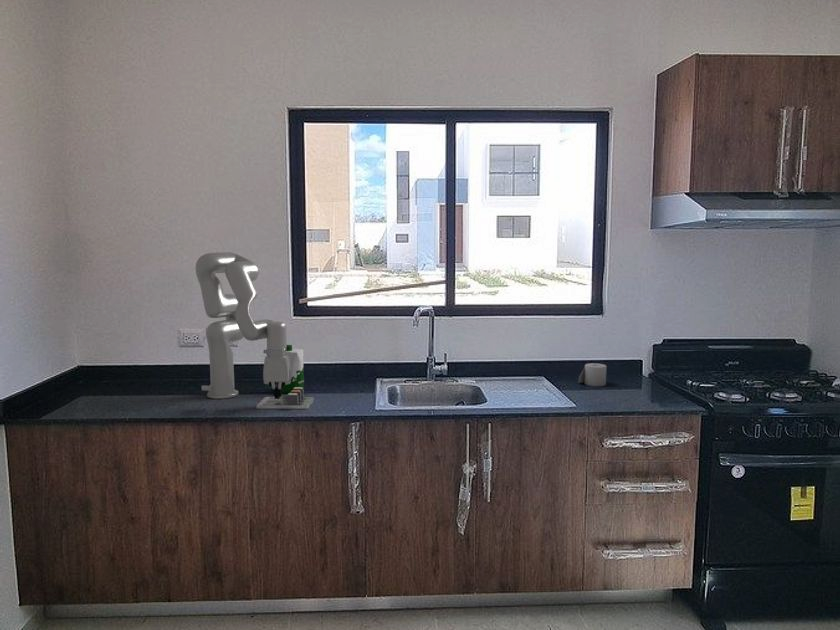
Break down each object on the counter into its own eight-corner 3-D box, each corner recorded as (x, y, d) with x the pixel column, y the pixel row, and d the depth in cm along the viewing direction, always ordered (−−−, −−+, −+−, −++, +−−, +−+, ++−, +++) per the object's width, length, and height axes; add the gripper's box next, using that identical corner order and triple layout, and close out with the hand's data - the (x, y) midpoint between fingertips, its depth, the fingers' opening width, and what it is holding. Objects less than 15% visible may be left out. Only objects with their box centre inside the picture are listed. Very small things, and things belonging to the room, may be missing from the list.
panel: (256, 408, 244) (256, 404, 244) (265, 399, 257) (265, 396, 257) (307, 408, 244) (307, 405, 243) (313, 400, 257) (313, 396, 256)
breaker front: (287, 404, 244) (286, 394, 244) (288, 403, 246) (288, 393, 246) (297, 404, 244) (297, 394, 244) (298, 403, 246) (298, 393, 246)
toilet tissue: (573, 383, 285) (574, 365, 284) (596, 380, 290) (597, 362, 289) (586, 387, 277) (587, 368, 276) (610, 384, 282) (610, 366, 281)
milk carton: (287, 388, 277) (286, 343, 274) (306, 389, 275) (305, 344, 273) (279, 393, 268) (277, 347, 266) (298, 394, 267) (297, 347, 264)
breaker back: (292, 398, 254) (292, 388, 253) (294, 396, 256) (293, 387, 256) (302, 398, 254) (302, 388, 253) (303, 396, 256) (303, 387, 255)
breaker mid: (290, 401, 249) (289, 391, 248) (291, 399, 251) (291, 390, 251) (300, 401, 249) (299, 391, 248) (301, 399, 251) (301, 390, 251)
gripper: (255, 354, 244) (256, 400, 247) (293, 355, 244) (294, 400, 246) (260, 350, 252) (261, 395, 254) (297, 351, 251) (298, 396, 254)
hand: (277, 397), depth 250 cm, fingers closed
